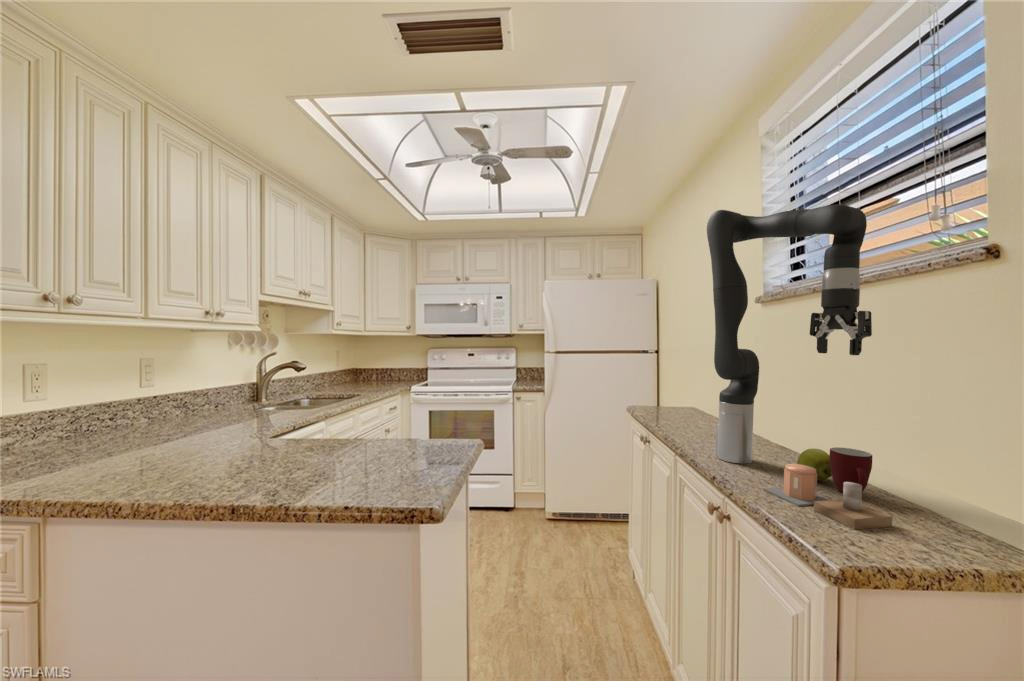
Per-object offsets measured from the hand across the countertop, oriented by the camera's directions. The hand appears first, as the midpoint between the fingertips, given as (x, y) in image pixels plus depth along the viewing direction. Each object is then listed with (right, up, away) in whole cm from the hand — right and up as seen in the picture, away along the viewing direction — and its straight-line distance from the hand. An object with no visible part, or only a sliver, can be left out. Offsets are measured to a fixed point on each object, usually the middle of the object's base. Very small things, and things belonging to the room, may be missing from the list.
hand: (837, 354), depth 107 cm
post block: (-10, -33, -18) cm, 39 cm away
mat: (-14, -33, -6) cm, 36 cm away
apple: (-1, -33, +7) cm, 34 cm away
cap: (-13, -33, -6) cm, 36 cm away
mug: (0, -33, -4) cm, 34 cm away
